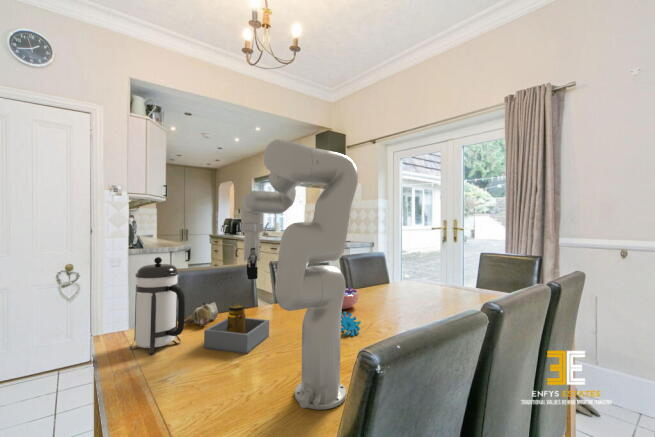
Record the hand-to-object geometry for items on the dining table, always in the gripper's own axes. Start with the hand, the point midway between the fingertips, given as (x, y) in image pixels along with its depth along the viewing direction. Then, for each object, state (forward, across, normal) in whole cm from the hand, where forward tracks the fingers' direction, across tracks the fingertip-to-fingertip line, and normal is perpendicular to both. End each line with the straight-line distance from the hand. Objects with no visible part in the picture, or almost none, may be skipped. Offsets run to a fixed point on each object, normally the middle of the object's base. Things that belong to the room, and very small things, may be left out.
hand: (251, 276), depth 107 cm
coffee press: (+23, -4, -30) cm, 38 cm away
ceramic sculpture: (+23, -26, -18) cm, 39 cm away
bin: (+23, -2, -4) cm, 23 cm away
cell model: (+23, -34, +46) cm, 62 cm away
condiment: (+22, -2, -4) cm, 23 cm away
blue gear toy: (+24, 0, +37) cm, 44 cm away
